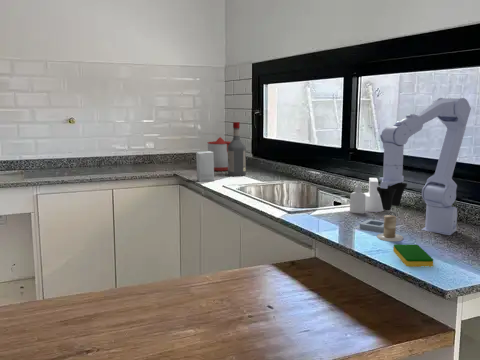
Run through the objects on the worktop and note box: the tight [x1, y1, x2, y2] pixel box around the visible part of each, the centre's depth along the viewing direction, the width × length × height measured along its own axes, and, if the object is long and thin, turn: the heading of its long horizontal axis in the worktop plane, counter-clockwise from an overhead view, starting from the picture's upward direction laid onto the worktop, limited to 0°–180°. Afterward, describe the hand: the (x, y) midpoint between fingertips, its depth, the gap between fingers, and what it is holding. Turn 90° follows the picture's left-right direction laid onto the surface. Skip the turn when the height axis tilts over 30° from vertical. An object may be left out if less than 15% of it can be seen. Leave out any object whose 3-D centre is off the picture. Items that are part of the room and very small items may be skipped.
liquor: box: [227, 121, 247, 178], centre depth 284 cm, size 9×9×30 cm
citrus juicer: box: [207, 136, 231, 172], centre depth 306 cm, size 16×17×20 cm
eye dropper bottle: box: [349, 182, 366, 214], centre depth 194 cm, size 4×6×12 cm
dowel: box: [383, 214, 397, 238], centre depth 160 cm, size 4×4×6 cm
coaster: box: [376, 233, 404, 242], centre depth 160 cm, size 8×8×1 cm
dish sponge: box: [392, 243, 435, 268], centre depth 142 cm, size 7×14×2 cm, turn 178°
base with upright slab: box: [363, 177, 385, 213], centre depth 200 cm, size 9×9×12 cm
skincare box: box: [195, 150, 215, 183], centre depth 269 cm, size 8×7×16 cm
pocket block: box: [353, 218, 398, 234], centre depth 172 cm, size 12×10×2 cm
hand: (391, 207), depth 158 cm, fingers open, 7 cm apart
